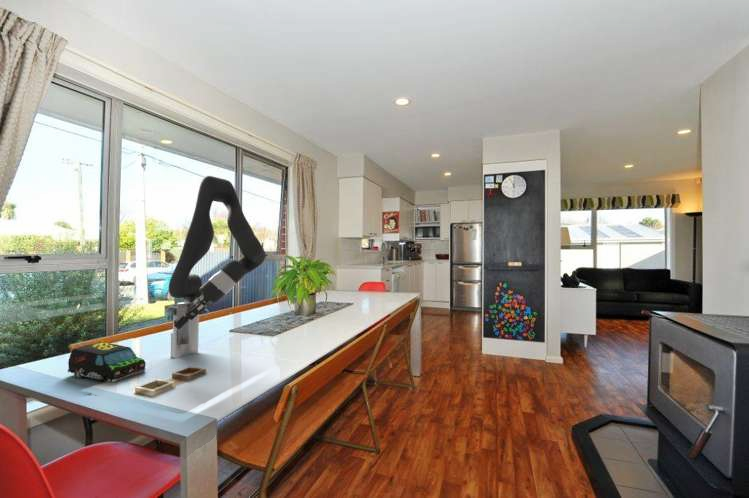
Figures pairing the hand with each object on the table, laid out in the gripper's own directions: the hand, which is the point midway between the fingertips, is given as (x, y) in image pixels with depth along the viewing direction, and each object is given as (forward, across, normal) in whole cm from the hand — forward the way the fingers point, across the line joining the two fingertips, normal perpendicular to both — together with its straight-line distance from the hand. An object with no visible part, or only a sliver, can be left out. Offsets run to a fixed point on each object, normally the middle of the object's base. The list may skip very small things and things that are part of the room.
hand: (176, 325), depth 106 cm
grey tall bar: (+3, 0, +6) cm, 6 cm away
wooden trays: (+14, +2, +13) cm, 19 cm away
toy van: (+28, -20, 0) cm, 34 cm away
